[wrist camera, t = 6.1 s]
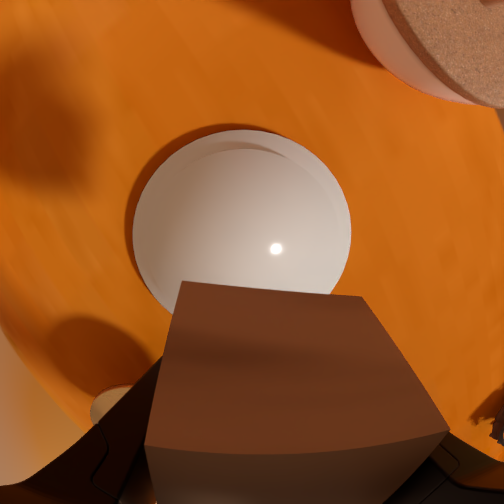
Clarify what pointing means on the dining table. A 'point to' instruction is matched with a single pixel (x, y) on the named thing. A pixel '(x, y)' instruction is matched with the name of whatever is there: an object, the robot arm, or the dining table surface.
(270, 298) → the block
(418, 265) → the dining table surface
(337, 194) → the dish
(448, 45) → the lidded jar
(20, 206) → the dining table surface
